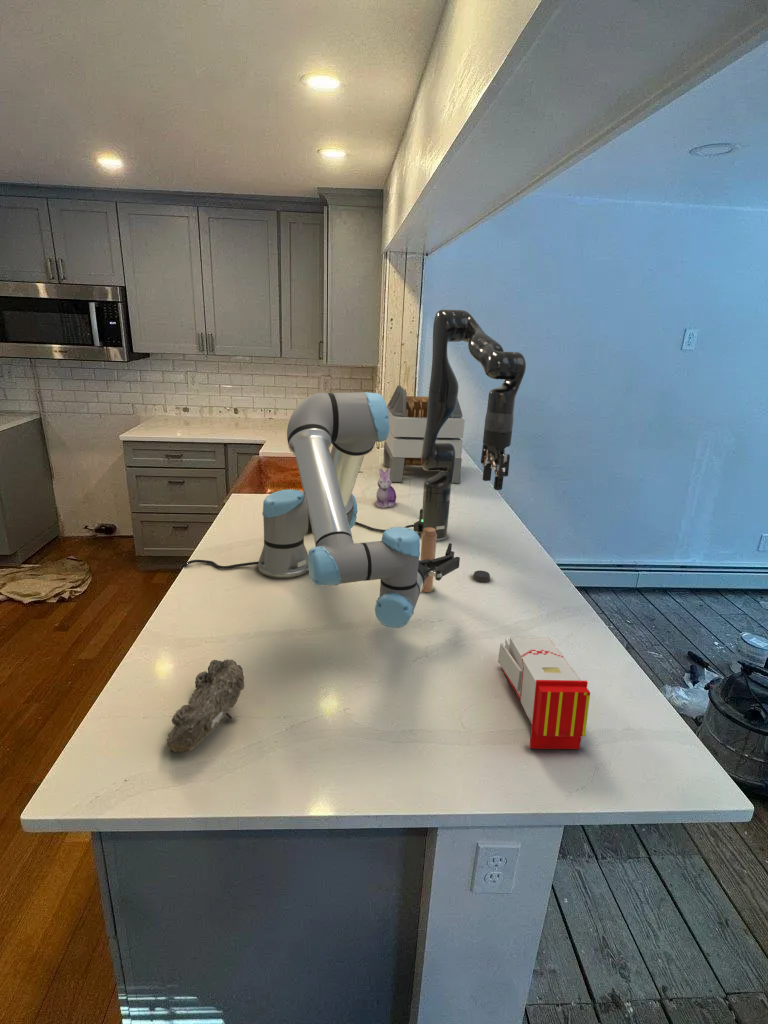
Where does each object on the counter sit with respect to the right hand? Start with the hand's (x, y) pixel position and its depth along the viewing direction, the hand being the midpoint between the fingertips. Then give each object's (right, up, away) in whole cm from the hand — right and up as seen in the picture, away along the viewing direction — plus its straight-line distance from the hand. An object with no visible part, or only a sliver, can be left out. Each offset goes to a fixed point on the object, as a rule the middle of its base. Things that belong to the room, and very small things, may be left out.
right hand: (491, 485), depth 159 cm
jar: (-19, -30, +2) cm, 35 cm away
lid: (-1, -26, +10) cm, 28 cm away
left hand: (-20, -16, -13) cm, 29 cm away
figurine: (-30, -5, +70) cm, 76 cm away
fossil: (-63, -47, -51) cm, 94 cm away
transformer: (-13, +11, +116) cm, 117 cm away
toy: (0, -47, -43) cm, 63 cm away
